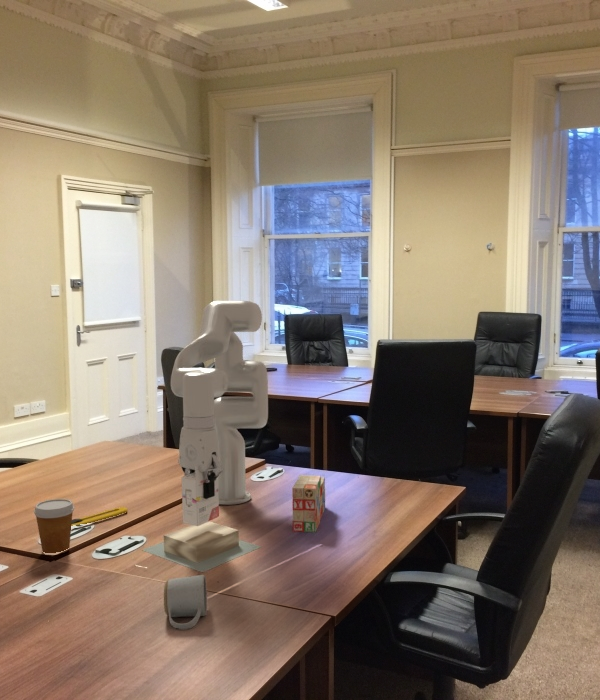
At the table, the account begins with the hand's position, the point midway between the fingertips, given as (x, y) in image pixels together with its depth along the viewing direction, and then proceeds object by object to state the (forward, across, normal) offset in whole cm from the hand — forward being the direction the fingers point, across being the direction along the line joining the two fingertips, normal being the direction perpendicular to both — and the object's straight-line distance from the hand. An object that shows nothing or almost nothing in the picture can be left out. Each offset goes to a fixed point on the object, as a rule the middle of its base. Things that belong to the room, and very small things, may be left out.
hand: (200, 494), depth 174 cm
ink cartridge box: (+7, 0, 0) cm, 7 cm away
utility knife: (+15, -41, -4) cm, 44 cm away
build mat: (+14, 0, 0) cm, 14 cm away
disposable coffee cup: (+14, -28, -23) cm, 39 cm away
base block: (+14, 0, 0) cm, 14 cm away
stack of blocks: (+14, +7, +35) cm, 38 cm away
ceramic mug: (+15, +24, -26) cm, 38 cm away
